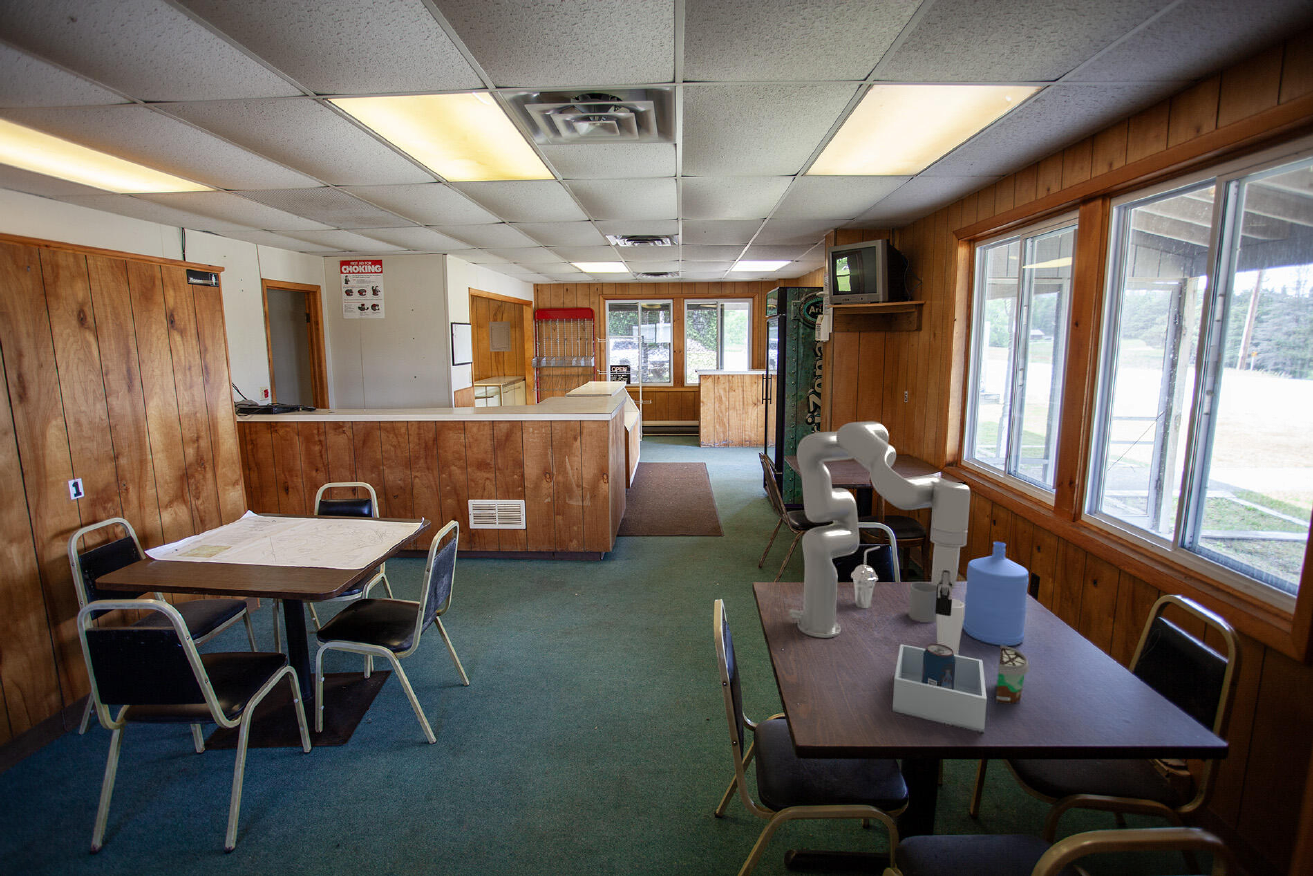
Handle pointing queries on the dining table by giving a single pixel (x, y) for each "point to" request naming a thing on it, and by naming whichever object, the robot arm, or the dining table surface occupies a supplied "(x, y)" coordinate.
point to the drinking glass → (951, 626)
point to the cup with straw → (864, 582)
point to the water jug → (996, 599)
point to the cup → (922, 602)
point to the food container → (1010, 675)
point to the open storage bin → (940, 691)
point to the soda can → (938, 666)
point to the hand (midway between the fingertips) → (943, 606)
